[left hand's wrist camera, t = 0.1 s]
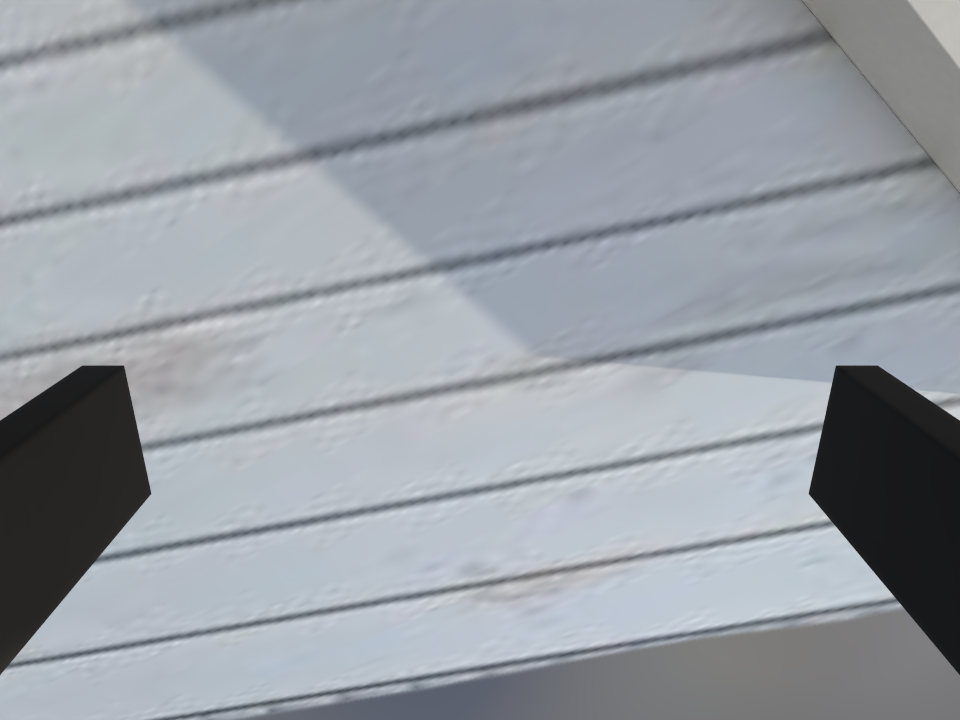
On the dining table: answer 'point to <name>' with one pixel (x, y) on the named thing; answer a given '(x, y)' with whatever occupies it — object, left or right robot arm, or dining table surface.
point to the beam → (907, 64)
